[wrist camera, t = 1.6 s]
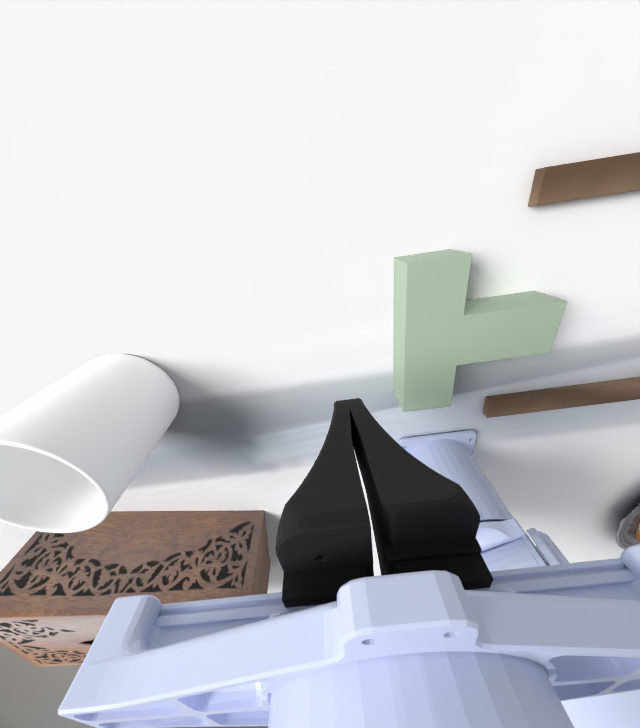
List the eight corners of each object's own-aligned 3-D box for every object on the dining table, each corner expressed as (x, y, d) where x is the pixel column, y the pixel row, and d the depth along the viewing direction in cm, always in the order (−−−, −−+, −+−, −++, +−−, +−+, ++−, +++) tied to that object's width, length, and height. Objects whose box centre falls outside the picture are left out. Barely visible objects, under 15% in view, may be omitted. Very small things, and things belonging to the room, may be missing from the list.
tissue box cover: (264, 508, 33) (247, 611, 24) (270, 564, 40) (259, 659, 31) (55, 510, 32) (-41, 618, 23) (99, 567, 39) (37, 666, 30)
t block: (511, 376, 24) (535, 395, 21) (393, 391, 24) (403, 412, 22) (549, 234, 18) (589, 236, 16) (393, 257, 19) (407, 263, 16)
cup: (193, 423, 26) (130, 530, 17) (72, 429, 26) (-56, 540, 17) (165, 348, 22) (64, 436, 13) (21, 355, 21) (-182, 448, 13)
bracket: (657, 390, 25) (666, 395, 25) (482, 412, 26) (487, 417, 25) (820, 124, 16) (844, 119, 15) (535, 169, 16) (545, 167, 16)
